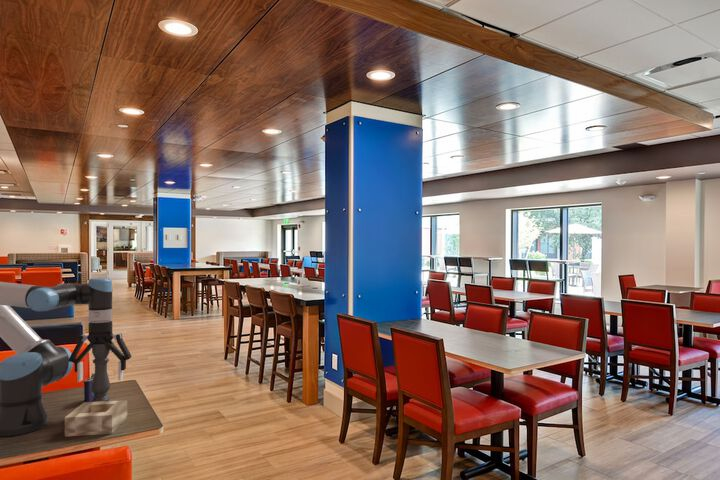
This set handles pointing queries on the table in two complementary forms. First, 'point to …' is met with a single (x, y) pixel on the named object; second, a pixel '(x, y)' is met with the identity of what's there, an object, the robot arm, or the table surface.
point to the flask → (88, 389)
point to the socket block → (96, 418)
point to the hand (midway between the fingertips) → (100, 380)
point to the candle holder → (100, 373)
